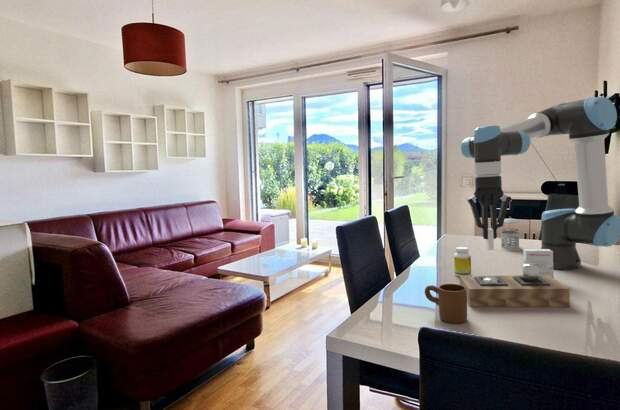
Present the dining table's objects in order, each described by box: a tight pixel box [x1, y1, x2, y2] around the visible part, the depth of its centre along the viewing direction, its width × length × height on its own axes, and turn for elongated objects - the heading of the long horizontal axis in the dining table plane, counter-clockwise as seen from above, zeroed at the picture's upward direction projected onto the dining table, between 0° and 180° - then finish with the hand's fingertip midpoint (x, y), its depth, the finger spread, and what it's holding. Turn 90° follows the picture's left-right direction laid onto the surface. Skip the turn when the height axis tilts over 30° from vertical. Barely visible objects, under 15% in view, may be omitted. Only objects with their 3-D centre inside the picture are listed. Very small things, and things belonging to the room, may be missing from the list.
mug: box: [424, 283, 468, 325], centre depth 108 cm, size 12×8×9 cm, turn 51°
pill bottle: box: [453, 246, 472, 278], centre depth 148 cm, size 6×6×11 cm
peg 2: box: [522, 262, 539, 282], centre depth 118 cm, size 4×4×6 cm
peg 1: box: [483, 277, 498, 283], centre depth 121 cm, size 4×4×6 cm
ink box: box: [522, 248, 555, 279], centre depth 134 cm, size 9×5×12 cm, turn 71°
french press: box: [497, 199, 522, 252], centre depth 185 cm, size 10×12×25 cm
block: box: [459, 274, 571, 308], centre depth 120 cm, size 28×14×6 cm, turn 79°
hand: (490, 248), depth 120 cm, fingers closed
